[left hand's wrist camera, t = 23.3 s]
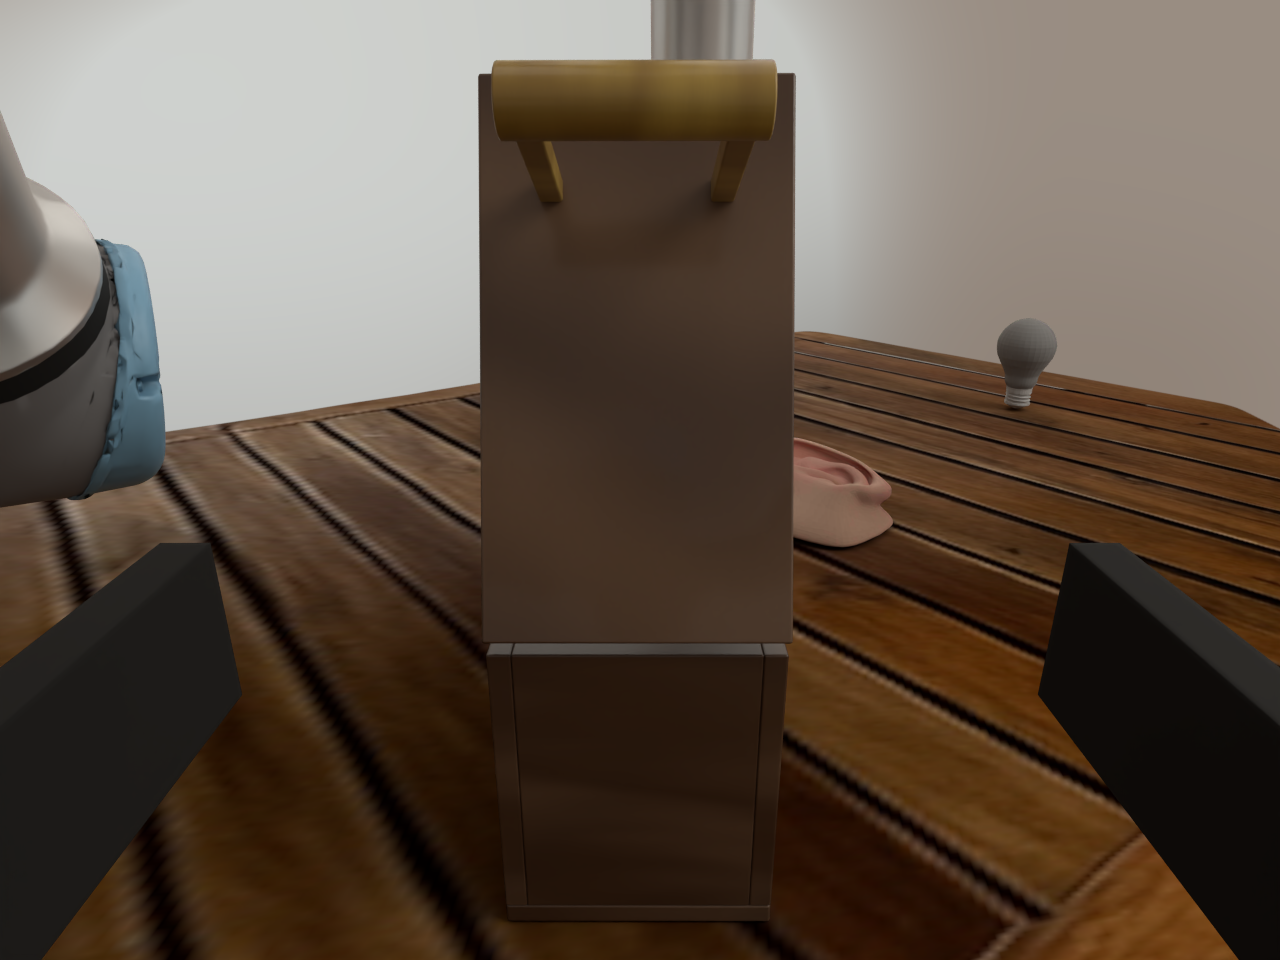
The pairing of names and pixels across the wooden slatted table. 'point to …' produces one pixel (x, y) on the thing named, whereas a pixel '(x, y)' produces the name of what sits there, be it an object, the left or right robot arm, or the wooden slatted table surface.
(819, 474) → the anatomical model
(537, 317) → the lid
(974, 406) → the wooden slatted table surface
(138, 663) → the left robot arm
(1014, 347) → the light bulb
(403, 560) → the wooden slatted table surface
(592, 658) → the chest
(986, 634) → the wooden slatted table surface
